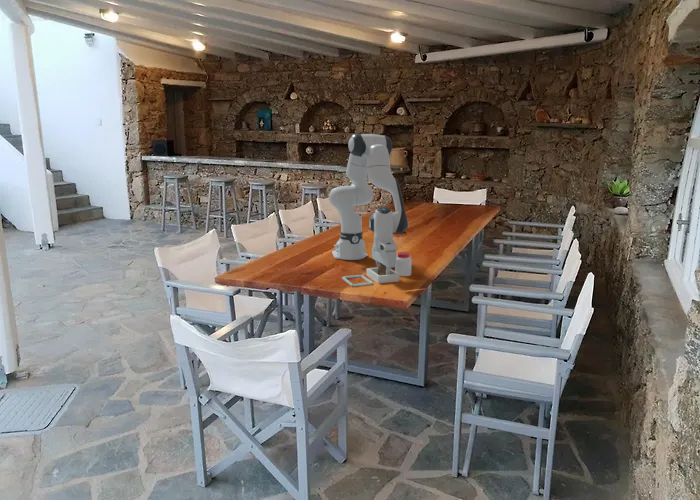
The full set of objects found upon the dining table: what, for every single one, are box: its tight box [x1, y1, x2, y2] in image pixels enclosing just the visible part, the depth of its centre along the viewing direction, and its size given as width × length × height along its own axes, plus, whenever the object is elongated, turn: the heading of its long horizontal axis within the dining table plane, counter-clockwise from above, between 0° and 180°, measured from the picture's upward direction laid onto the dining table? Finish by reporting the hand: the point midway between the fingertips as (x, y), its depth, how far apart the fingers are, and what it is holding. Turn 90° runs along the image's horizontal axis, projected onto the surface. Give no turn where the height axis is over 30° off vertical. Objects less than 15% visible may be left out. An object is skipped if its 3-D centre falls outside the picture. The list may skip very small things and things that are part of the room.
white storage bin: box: [365, 267, 400, 284], centre depth 248 cm, size 14×10×4 cm
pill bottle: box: [394, 251, 413, 277], centre depth 254 cm, size 8×8×11 cm
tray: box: [341, 274, 374, 288], centre depth 244 cm, size 14×10×2 cm
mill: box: [378, 263, 386, 275], centre depth 248 cm, size 4×4×6 cm
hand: (383, 272), depth 248 cm, fingers open, 8 cm apart
